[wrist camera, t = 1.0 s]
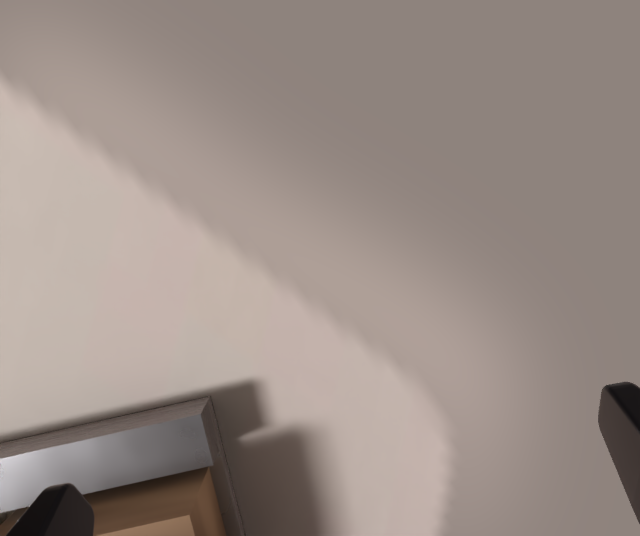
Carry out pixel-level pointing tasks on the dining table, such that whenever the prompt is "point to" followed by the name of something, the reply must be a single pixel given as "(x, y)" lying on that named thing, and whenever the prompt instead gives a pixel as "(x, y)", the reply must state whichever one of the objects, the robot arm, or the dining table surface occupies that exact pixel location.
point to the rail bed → (120, 456)
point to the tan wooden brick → (153, 508)
